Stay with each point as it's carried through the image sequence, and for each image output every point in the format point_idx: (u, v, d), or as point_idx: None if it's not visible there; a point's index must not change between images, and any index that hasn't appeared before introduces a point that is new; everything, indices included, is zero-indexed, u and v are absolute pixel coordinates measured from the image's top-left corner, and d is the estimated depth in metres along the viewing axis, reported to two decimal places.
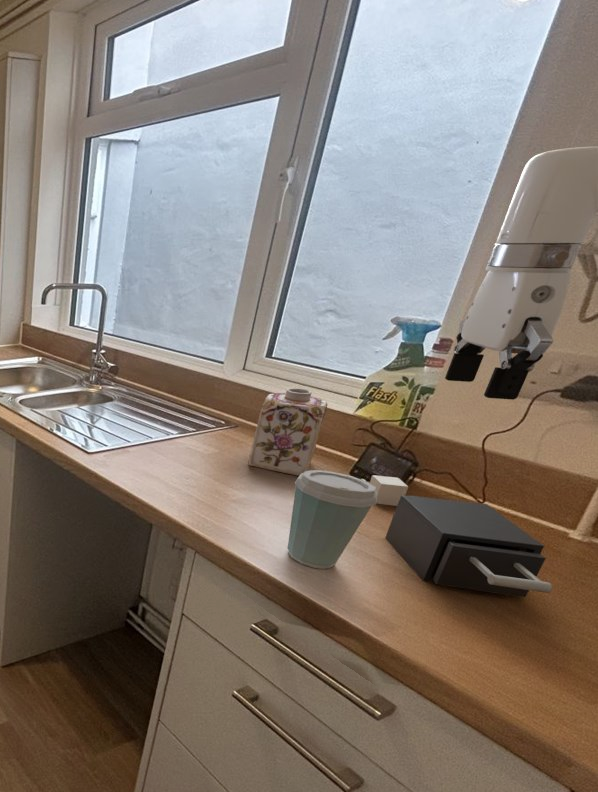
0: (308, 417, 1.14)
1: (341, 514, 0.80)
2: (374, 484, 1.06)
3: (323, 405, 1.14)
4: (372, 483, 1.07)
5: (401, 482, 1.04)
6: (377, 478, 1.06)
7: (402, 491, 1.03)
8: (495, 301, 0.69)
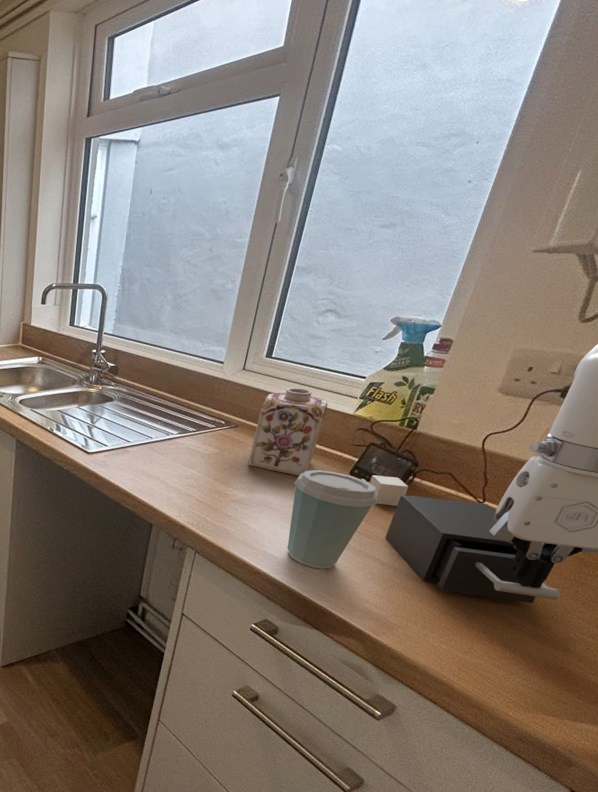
0: (308, 417, 1.14)
1: (341, 514, 0.80)
2: (374, 484, 1.06)
3: (323, 405, 1.14)
4: (372, 483, 1.07)
5: (401, 482, 1.04)
6: (377, 478, 1.06)
7: (402, 491, 1.03)
8: None
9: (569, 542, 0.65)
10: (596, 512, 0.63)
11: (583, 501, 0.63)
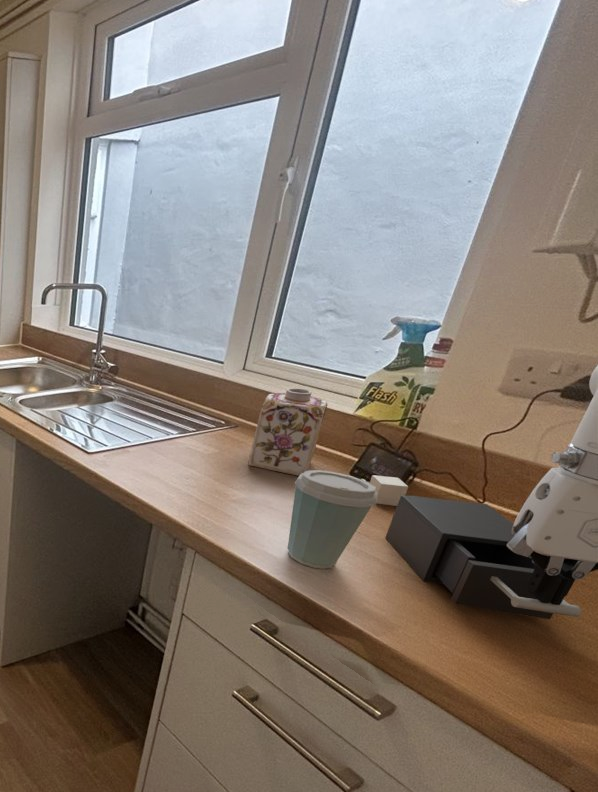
0: (308, 417, 1.14)
1: (341, 514, 0.80)
2: (374, 484, 1.06)
3: (323, 405, 1.14)
4: (372, 483, 1.07)
5: (401, 482, 1.04)
6: (377, 478, 1.06)
7: (402, 491, 1.03)
8: None
9: (592, 558, 0.62)
10: None
11: None
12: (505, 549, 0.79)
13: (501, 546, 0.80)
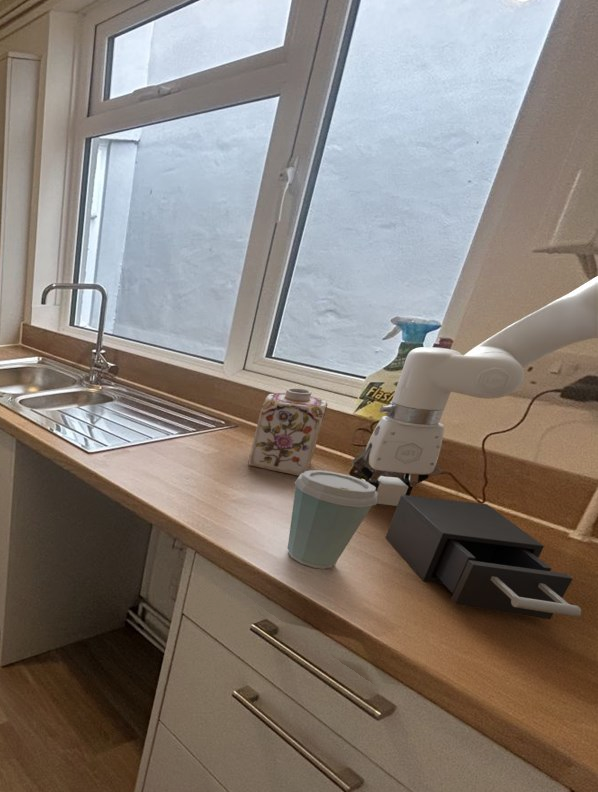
0: (308, 417, 1.14)
1: (341, 514, 0.80)
2: None
3: (323, 405, 1.14)
4: None
5: (401, 482, 1.04)
6: None
7: (402, 491, 1.03)
8: None
9: (404, 470, 1.01)
10: (418, 449, 0.99)
11: (410, 443, 0.99)
12: (505, 549, 0.79)
13: (501, 546, 0.80)
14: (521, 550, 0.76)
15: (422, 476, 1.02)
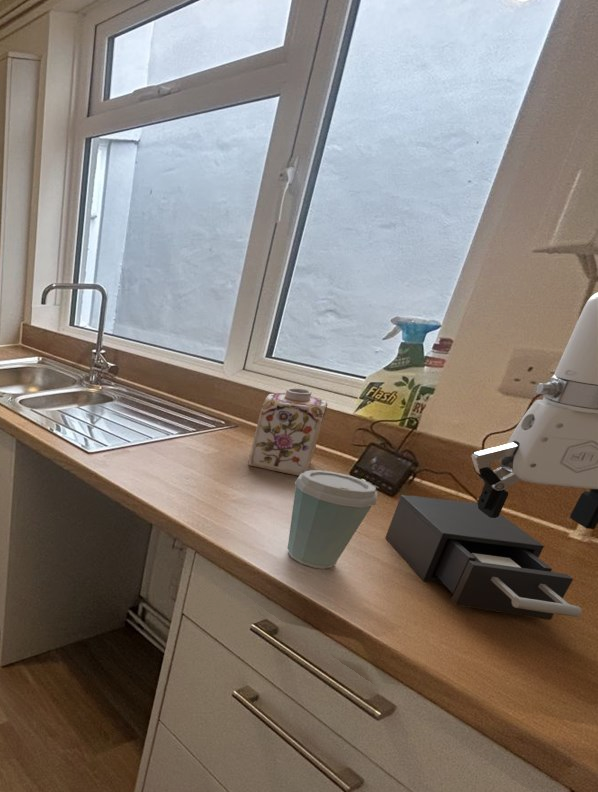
0: (308, 417, 1.14)
1: (341, 514, 0.80)
2: None
3: (323, 405, 1.14)
4: None
5: None
6: None
7: (509, 561, 0.75)
8: None
9: (575, 483, 0.65)
10: None
11: (588, 440, 0.63)
12: (505, 549, 0.79)
13: (501, 546, 0.80)
14: (521, 550, 0.76)
15: None
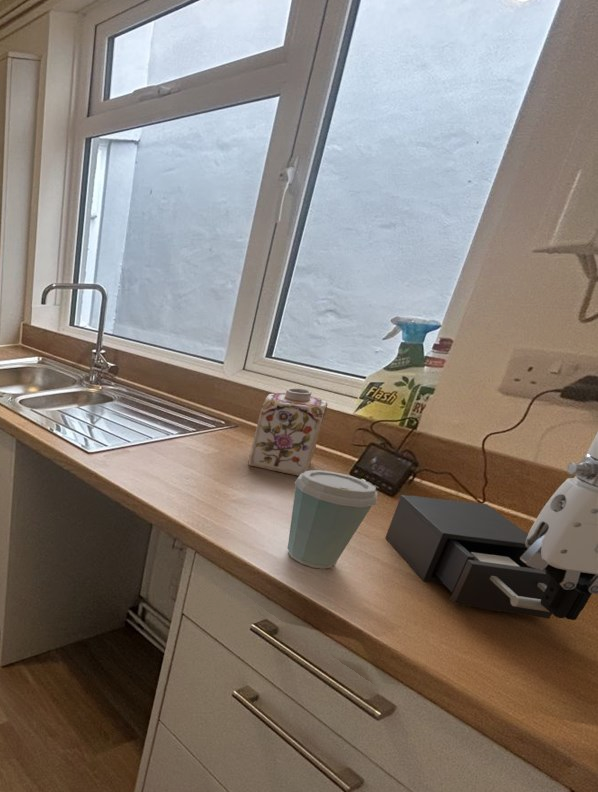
0: (308, 417, 1.14)
1: (341, 514, 0.80)
2: None
3: (323, 405, 1.14)
4: None
5: None
6: None
7: (507, 560, 0.76)
8: None
9: None
10: None
11: None
12: (504, 548, 0.79)
13: (500, 545, 0.80)
14: (520, 549, 0.76)
15: None
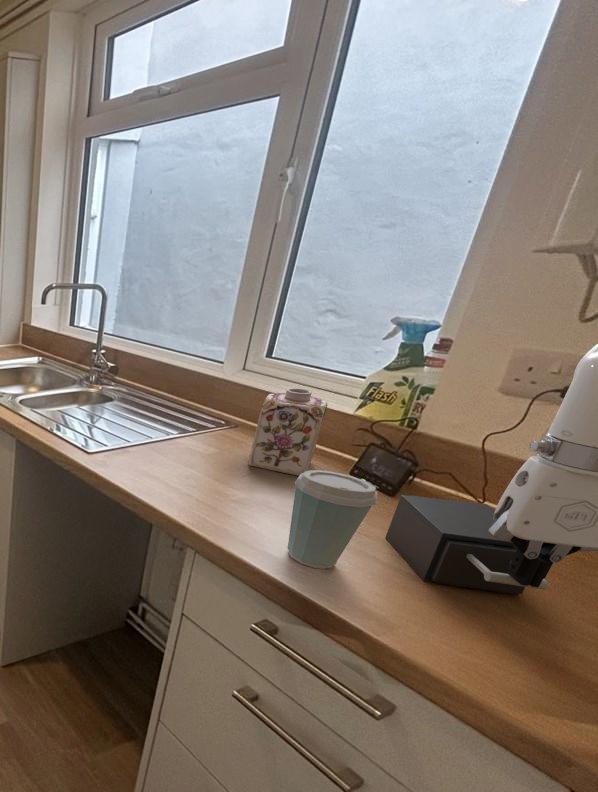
0: (308, 417, 1.14)
1: (341, 514, 0.80)
2: None
3: (323, 405, 1.14)
4: None
5: None
6: None
7: None
8: None
9: (568, 541, 0.65)
10: (595, 511, 0.63)
11: (582, 500, 0.63)
12: None
13: None
14: None
15: (570, 547, 0.67)
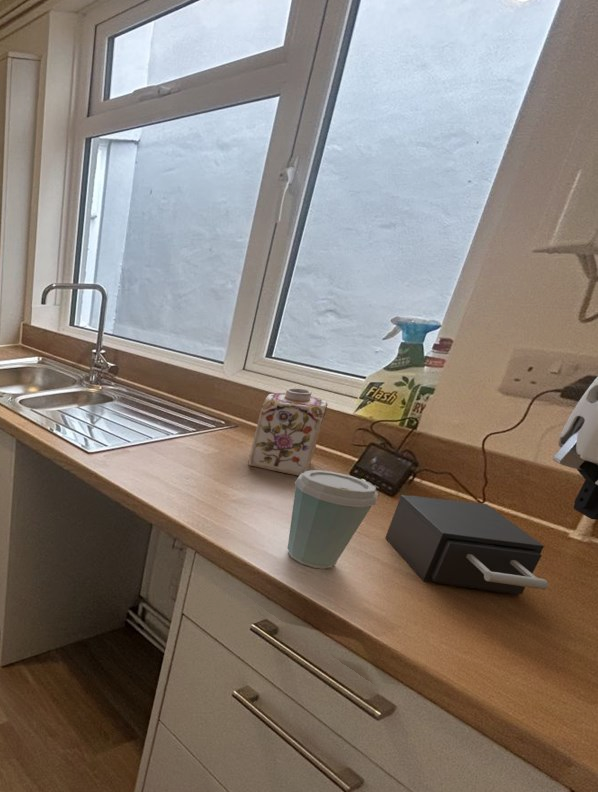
0: (308, 417, 1.14)
1: (341, 514, 0.80)
2: None
3: (323, 405, 1.14)
4: None
5: None
6: None
7: None
8: None
9: None
10: None
11: None
12: None
13: None
14: None
15: None
